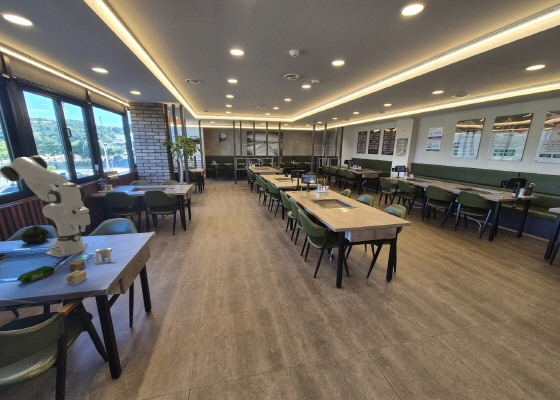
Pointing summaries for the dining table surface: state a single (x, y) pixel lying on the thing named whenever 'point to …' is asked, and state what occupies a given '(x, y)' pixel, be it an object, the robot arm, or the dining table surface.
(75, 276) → the oak base block
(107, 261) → the portable electronic device stand
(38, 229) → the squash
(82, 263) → the walnut cube
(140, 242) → the dining table surface
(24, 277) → the snack package
